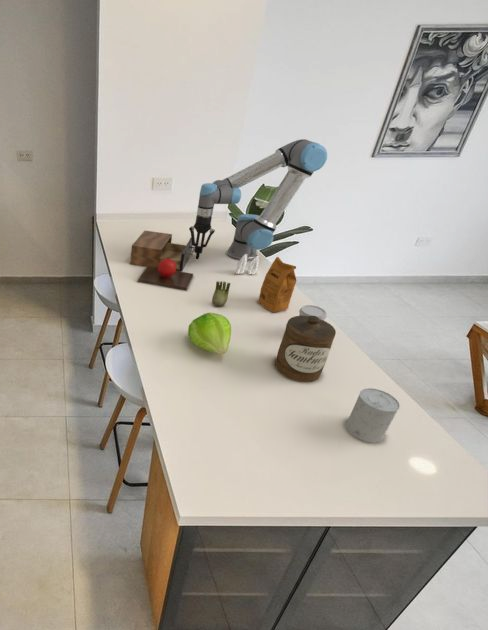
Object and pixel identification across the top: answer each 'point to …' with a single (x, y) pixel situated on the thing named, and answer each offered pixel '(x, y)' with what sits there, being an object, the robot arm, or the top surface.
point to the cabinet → (149, 248)
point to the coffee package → (278, 286)
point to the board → (166, 279)
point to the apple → (167, 268)
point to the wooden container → (304, 348)
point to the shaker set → (252, 267)
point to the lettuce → (211, 332)
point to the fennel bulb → (220, 294)
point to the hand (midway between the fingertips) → (197, 258)
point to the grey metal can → (372, 415)
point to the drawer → (178, 253)
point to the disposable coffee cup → (313, 311)
